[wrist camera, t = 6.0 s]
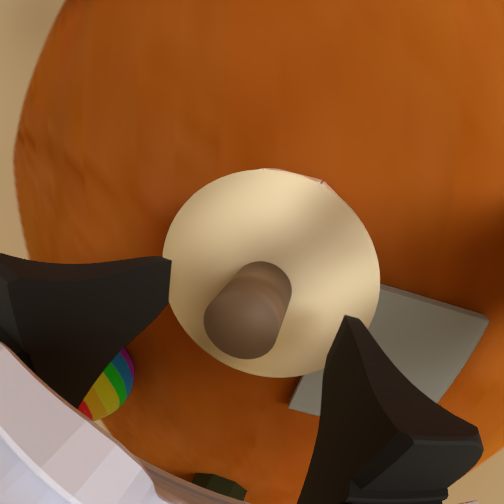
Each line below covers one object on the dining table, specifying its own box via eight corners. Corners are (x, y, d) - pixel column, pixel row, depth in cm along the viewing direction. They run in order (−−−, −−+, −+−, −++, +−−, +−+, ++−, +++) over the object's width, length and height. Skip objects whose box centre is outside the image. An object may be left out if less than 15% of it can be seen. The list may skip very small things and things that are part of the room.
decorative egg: (99, 307, 24) (24, 358, 15) (157, 368, 24) (96, 438, 15) (80, 343, 27) (23, 387, 18) (128, 393, 27) (79, 448, 18)
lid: (421, 258, 12) (454, 298, 7) (292, 395, 16) (278, 450, 12) (228, 127, 12) (182, 112, 8) (145, 296, 16) (100, 330, 12)
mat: (484, 314, 15) (489, 321, 14) (411, 423, 19) (412, 431, 18) (342, 272, 17) (342, 277, 16) (290, 399, 21) (288, 408, 20)
